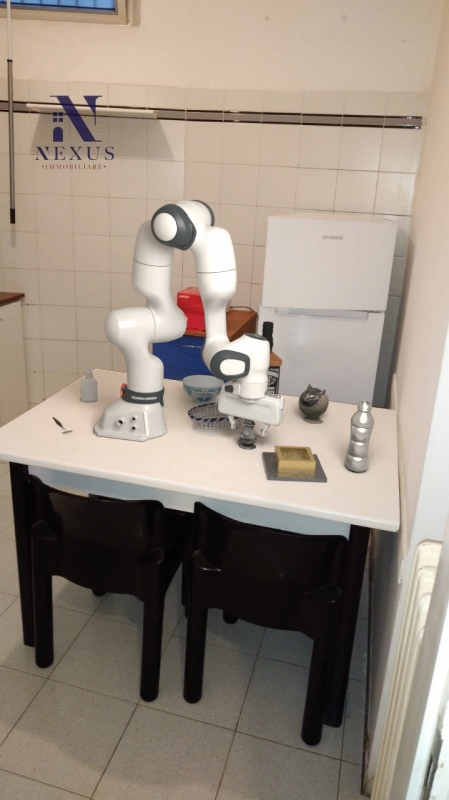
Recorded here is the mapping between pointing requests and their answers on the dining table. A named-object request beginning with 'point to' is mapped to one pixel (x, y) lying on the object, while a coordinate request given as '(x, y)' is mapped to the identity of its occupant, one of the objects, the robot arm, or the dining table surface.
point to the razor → (61, 425)
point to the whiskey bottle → (272, 360)
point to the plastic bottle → (360, 438)
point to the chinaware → (202, 388)
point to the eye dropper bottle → (89, 387)
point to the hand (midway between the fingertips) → (248, 432)
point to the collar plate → (293, 465)
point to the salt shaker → (248, 435)
